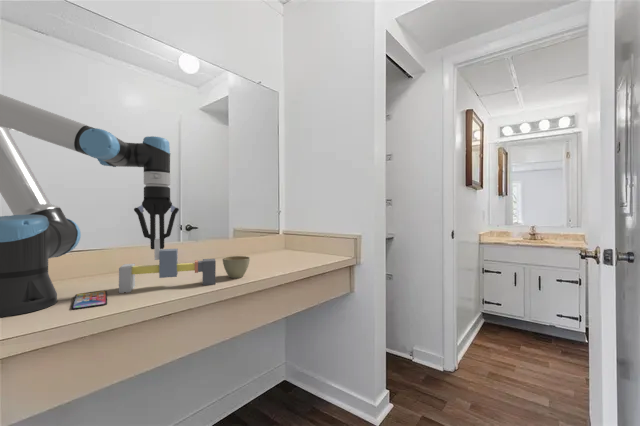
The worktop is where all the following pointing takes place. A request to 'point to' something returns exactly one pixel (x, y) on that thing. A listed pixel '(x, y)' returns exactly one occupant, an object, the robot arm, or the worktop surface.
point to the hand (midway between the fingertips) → (157, 259)
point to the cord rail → (130, 270)
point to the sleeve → (168, 263)
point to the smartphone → (89, 300)
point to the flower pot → (236, 265)
